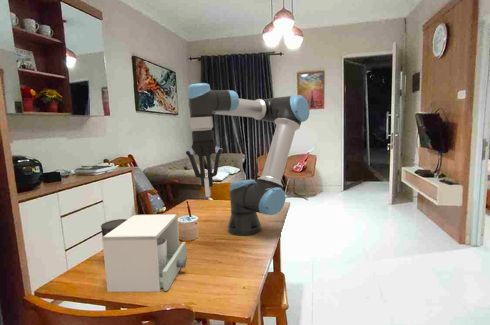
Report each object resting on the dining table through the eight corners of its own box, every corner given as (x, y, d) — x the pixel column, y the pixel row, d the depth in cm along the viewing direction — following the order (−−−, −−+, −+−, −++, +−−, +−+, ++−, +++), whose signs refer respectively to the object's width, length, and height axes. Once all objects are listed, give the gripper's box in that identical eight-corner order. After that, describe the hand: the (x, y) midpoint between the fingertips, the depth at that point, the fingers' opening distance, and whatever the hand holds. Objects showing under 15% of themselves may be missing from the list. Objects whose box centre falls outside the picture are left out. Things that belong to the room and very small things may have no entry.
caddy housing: (180, 258, 113) (177, 213, 111) (159, 291, 91) (155, 236, 89) (138, 259, 114) (134, 214, 112) (107, 291, 92) (102, 237, 90)
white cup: (171, 272, 100) (169, 243, 98) (146, 278, 96) (143, 248, 95) (165, 263, 107) (163, 235, 105) (142, 268, 103) (139, 240, 102)
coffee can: (100, 267, 109) (96, 228, 107) (110, 254, 119) (106, 219, 117) (129, 264, 110) (126, 226, 108) (137, 253, 120) (134, 218, 118)
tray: (193, 257, 113) (192, 241, 112) (175, 290, 90) (174, 271, 90) (144, 258, 114) (142, 242, 113) (114, 290, 92) (112, 271, 91)
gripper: (222, 128, 109) (227, 192, 113) (186, 130, 110) (192, 194, 113) (220, 128, 102) (225, 197, 105) (181, 131, 102) (188, 199, 106)
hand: (208, 195), depth 109 cm, fingers closed
